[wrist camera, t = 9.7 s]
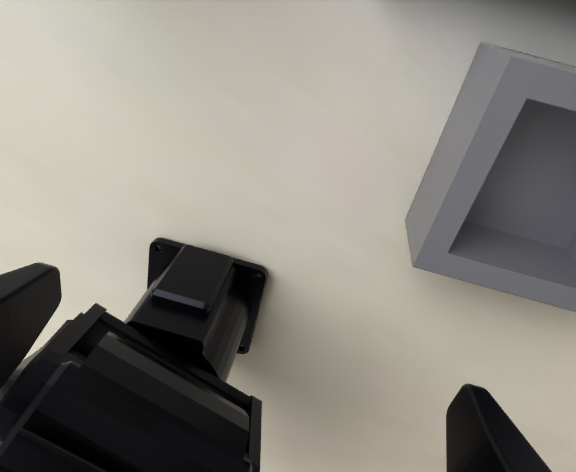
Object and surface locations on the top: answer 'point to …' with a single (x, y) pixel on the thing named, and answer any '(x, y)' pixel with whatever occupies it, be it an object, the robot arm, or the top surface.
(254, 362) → the top surface
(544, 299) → the socket
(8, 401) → the robot arm
